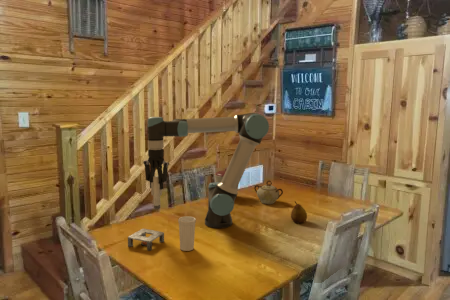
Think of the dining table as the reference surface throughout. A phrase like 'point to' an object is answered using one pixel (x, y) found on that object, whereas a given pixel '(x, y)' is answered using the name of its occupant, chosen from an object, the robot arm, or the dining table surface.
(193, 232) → the cup
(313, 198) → the dining table surface
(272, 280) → the dining table surface
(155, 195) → the beige rod
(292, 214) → the fruit
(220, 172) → the canister
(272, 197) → the sugar bowl
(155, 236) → the stand
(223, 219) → the robot arm
